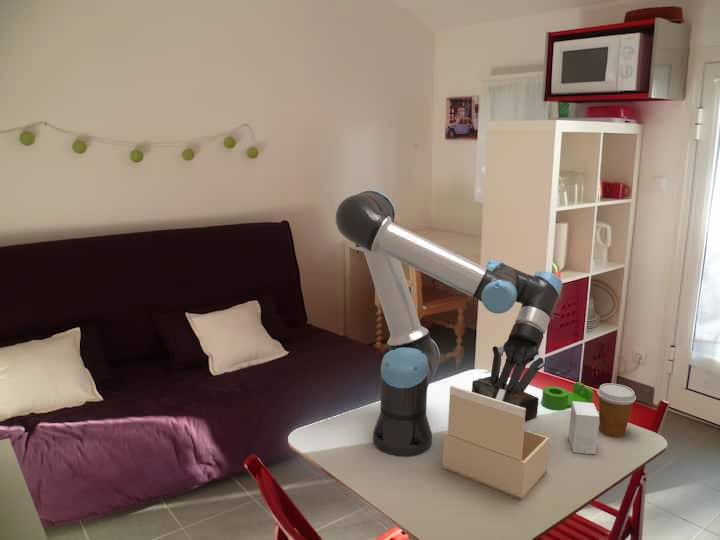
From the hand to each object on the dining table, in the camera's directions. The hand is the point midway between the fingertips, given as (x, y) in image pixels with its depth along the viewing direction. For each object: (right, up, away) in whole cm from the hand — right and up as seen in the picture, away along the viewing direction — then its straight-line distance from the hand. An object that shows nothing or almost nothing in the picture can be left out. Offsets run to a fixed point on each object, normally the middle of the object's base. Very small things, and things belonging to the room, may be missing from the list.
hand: (494, 417), depth 138 cm
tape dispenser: (+30, -6, +41) cm, 51 cm away
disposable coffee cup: (+37, -10, +25) cm, 46 cm away
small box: (+26, -12, +17) cm, 33 cm away
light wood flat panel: (-3, -6, -2) cm, 7 cm away
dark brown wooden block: (+11, -7, +38) cm, 40 cm away
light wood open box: (+1, -14, +5) cm, 15 cm away
